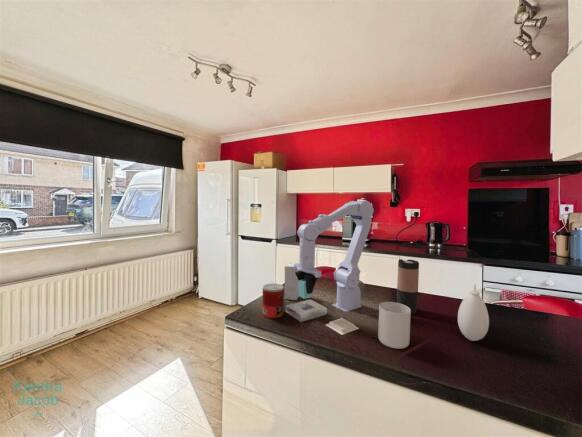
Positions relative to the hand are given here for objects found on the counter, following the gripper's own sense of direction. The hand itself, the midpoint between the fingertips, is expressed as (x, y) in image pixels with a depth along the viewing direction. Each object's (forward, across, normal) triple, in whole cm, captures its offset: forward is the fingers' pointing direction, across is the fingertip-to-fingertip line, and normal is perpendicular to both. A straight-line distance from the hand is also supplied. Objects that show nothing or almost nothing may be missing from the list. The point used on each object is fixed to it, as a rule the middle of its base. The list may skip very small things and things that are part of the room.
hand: (306, 291), depth 96 cm
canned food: (+9, -6, -11) cm, 15 cm away
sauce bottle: (+9, +42, +34) cm, 55 cm away
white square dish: (+9, +15, +4) cm, 18 cm away
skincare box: (+9, -18, +6) cm, 21 cm away
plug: (+2, 0, -1) cm, 2 cm away
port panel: (+9, 0, 0) cm, 9 cm away
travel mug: (+9, +18, +37) cm, 42 cm away
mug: (+9, +29, +12) cm, 33 cm away
